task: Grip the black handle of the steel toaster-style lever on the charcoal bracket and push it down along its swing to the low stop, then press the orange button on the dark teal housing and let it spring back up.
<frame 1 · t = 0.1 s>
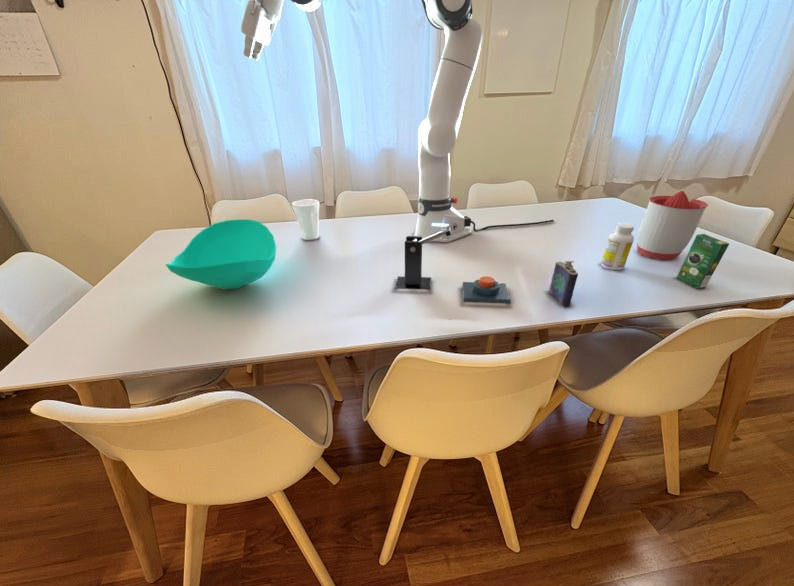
hand: (251, 57, 109), 54 cm above the table, tool tilted 30°, fingers open, 8 cm apart
table top decor: (234, 284, 112), on the table
button box: (484, 297, 102), on the table
supplement bottle: (611, 267, 118), on the table
flask: (559, 299, 101), on the table
coffee box: (690, 284, 108), on the table
cup: (311, 238, 144), on the table
lever: (429, 238, 100), point 14 cm above the table, hinge at 25.0°
bracket: (413, 286, 108), on the table
citrus juicer: (657, 254, 127), on the table
button: (486, 282, 99), point 4 cm above the table, slide at 0.1 cm
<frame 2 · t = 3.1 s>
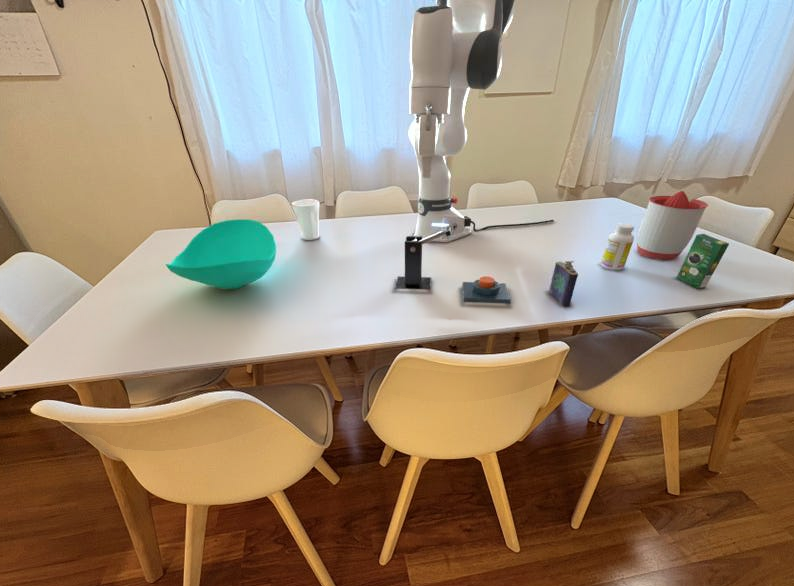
hand: (427, 174, 89), 30 cm above the table, tool pointing down, fingers open, 8 cm apart
nothing on the table moved.
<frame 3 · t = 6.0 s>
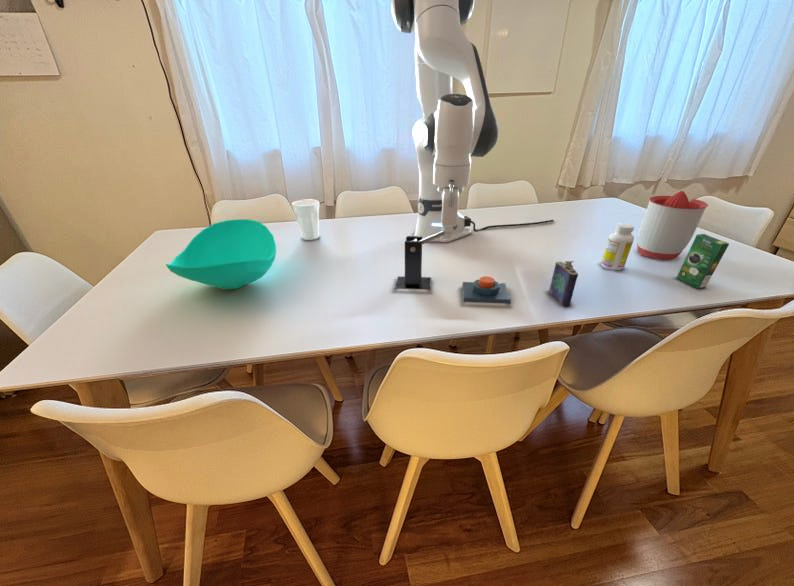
hand: (447, 233, 99), 15 cm above the table, tool pointing down, fingers closed on lever, 5 cm apart
lever: (429, 238, 100), point 14 cm above the table, hinge at 24.9°, touching gripper
everything else where it was.
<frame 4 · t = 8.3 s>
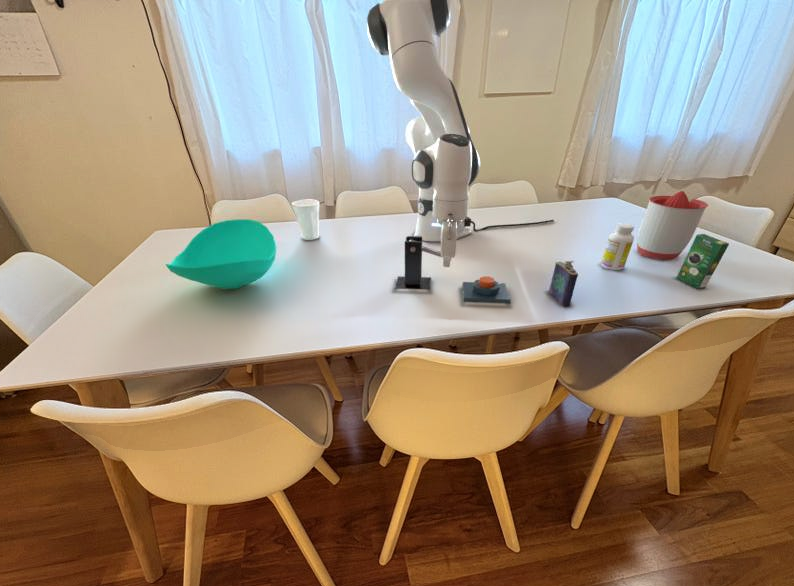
hand: (446, 261, 103), 8 cm above the table, tool pointing down, fingers closed on lever, 5 cm apart
lever: (429, 250, 102), point 11 cm above the table, hinge at -16.7°, touching gripper
everything else where it was.
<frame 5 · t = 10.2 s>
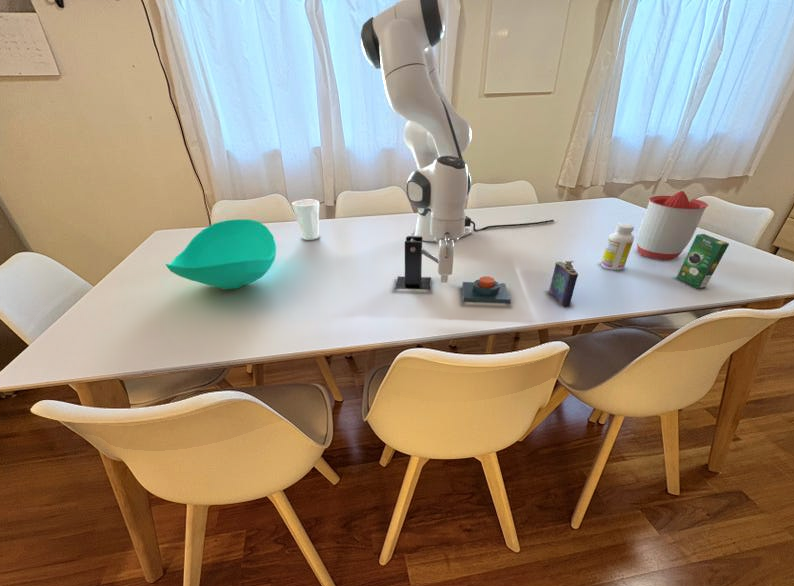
hand: (444, 277, 106), 3 cm above the table, tool pointing down, fingers open, 5 cm apart
lever: (427, 254, 102), point 10 cm above the table, hinge at -30.8°
everything else where it was.
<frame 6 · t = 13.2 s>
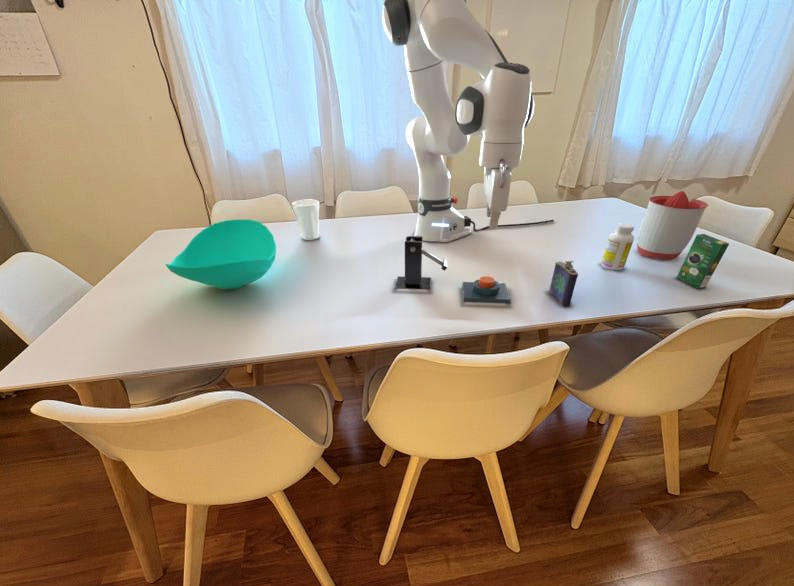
hand: (491, 221, 90), 20 cm above the table, tool pointing down, fingers open, 8 cm apart
nothing on the table moved.
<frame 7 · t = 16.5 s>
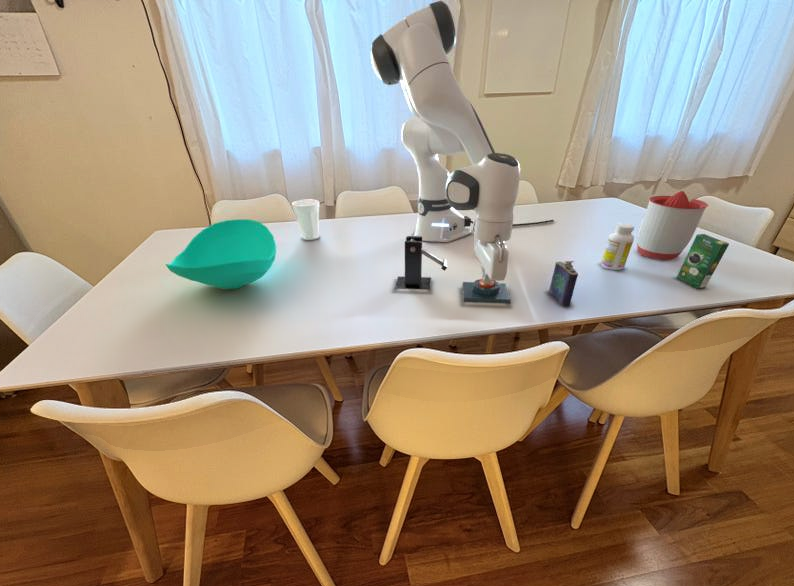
hand: (486, 282, 99), 5 cm above the table, tool pointing down, fingers closed, pressing on button
button: (486, 285, 100), point 4 cm above the table, slide at -0.7 cm, touching gripper
everything else where it was.
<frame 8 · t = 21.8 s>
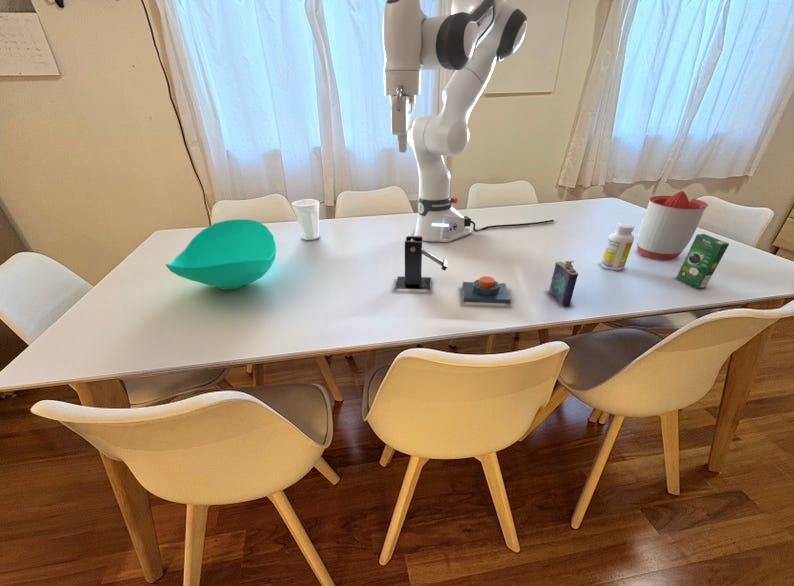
hand: (403, 151, 98), 33 cm above the table, tool pointing down, fingers closed
button: (486, 282, 99), point 4 cm above the table, slide at 0.1 cm
everything else where it was.
at the end: lever at -31° (first picture: +25°); button pushed in 1.1 cm at the most during the clip, back to where it started at the end; button slide at 0.1 cm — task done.
